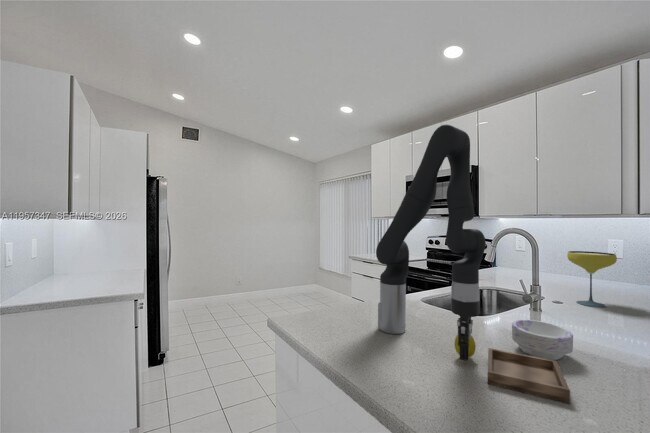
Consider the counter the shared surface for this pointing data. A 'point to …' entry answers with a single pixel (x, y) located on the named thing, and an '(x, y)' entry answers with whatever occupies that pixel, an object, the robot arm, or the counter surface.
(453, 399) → the counter surface
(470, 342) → the lemon
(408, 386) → the counter surface
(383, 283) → the robot arm
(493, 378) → the walnut tray
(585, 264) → the cocktail glass
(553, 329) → the paper bowls
